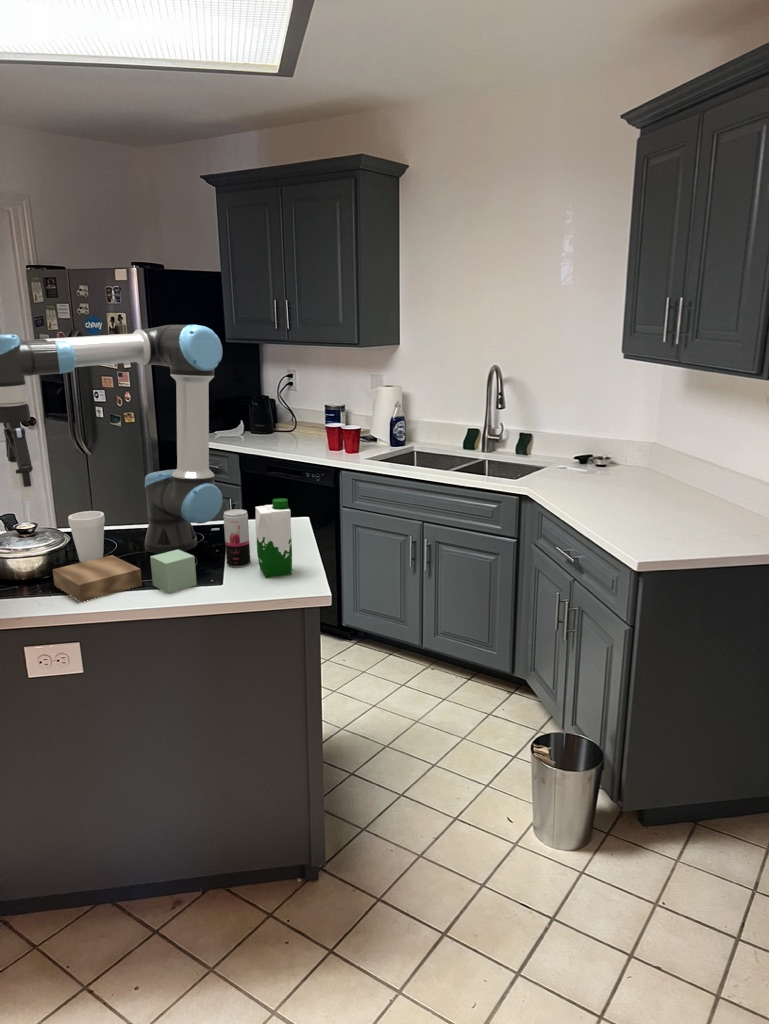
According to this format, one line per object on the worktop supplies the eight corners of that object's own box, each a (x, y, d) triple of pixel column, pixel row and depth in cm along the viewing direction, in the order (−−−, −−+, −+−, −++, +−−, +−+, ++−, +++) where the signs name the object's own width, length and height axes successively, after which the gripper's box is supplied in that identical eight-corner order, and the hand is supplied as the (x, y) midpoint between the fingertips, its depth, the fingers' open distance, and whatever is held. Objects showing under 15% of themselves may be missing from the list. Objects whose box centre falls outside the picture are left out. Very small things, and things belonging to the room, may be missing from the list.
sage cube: (180, 577, 199) (178, 549, 197) (196, 585, 194) (194, 556, 192) (153, 585, 194) (150, 556, 192) (168, 593, 189) (166, 563, 186)
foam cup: (71, 566, 209) (66, 521, 206) (75, 555, 218) (69, 512, 214) (107, 562, 212) (102, 518, 208) (109, 552, 220) (105, 509, 217)
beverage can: (239, 569, 205) (236, 516, 201) (221, 565, 209) (218, 513, 205) (255, 562, 211) (252, 510, 207) (237, 558, 214) (234, 507, 210)
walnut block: (113, 572, 205) (112, 555, 204) (142, 587, 194) (140, 568, 193) (54, 587, 194) (52, 569, 193) (81, 604, 183) (79, 585, 182)
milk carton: (295, 575, 200) (292, 502, 195) (262, 579, 197) (258, 506, 192) (288, 565, 208) (285, 495, 203) (255, 569, 205) (251, 498, 200)
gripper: (-15, 399, 180) (-1, 486, 185) (-1, 411, 159) (14, 507, 165) (19, 397, 184) (31, 481, 189) (37, 408, 163) (51, 502, 169)
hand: (24, 494), depth 177 cm, fingers open, 13 cm apart
